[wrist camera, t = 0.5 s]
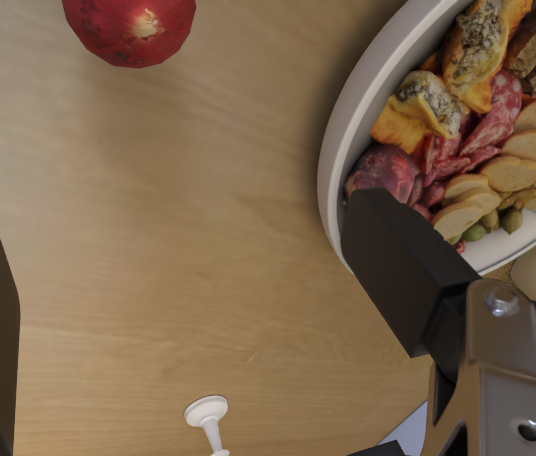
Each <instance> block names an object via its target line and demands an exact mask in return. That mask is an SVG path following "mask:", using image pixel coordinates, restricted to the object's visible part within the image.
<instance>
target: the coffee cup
mask: <svg viewBox="0 0 536 456" xmlns="http://www.w3.org/2000/svg"><path fill="white" fill-rule="evenodd" d="M510 276H511V278H512V280H513V281H514V282H515V284H516V285H517V286H518V287H519V289H520V290H521V291H522V292H523V293H525V294H526V295H527V296H528V297H529V299H530V300H535V301H536V246H534V247H533V248H531V249H530V250H528V251H527V252H525V253H523V254H522V255H520V256H519V257H518V258H517V260H516V261H515V263H514V264H513V266H512V268H511V272H510Z"/></svg>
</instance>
